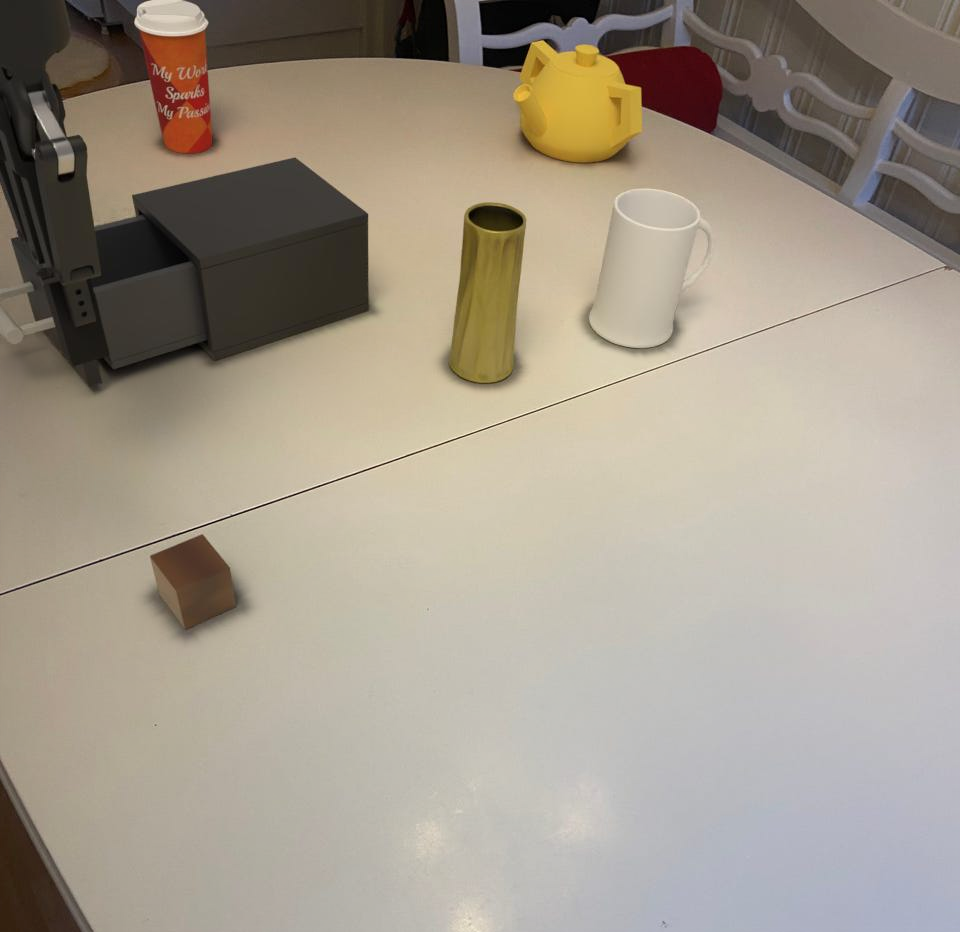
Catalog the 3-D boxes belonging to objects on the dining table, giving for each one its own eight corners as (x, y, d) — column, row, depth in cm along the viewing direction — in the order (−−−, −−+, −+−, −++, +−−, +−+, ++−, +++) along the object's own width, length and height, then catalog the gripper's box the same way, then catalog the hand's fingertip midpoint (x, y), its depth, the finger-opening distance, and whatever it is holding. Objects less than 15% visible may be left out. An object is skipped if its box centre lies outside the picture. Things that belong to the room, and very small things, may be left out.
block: (185, 630, 67) (176, 591, 64) (159, 594, 69) (149, 555, 66) (236, 606, 69) (230, 567, 66) (210, 572, 71) (202, 533, 67)
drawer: (34, 404, 80) (6, 319, 74) (-18, 336, 85) (-48, 252, 79) (252, 335, 89) (243, 254, 83) (193, 277, 94) (180, 197, 88)
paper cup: (162, 160, 111) (140, 23, 100) (148, 132, 115) (125, -2, 105) (229, 153, 114) (214, 19, 103) (213, 126, 118) (197, -5, 107)
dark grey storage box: (214, 361, 87) (199, 259, 80) (150, 295, 93) (131, 194, 86) (368, 310, 95) (368, 213, 87) (301, 252, 101) (295, 156, 93)
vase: (469, 339, 93) (482, 192, 82) (524, 361, 91) (545, 214, 80) (436, 368, 89) (445, 219, 78) (493, 392, 88) (510, 243, 77)
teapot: (457, 132, 123) (463, 36, 114) (556, 103, 132) (568, 11, 123) (568, 195, 114) (584, 95, 106) (666, 158, 123) (688, 64, 115)
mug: (680, 296, 101) (710, 182, 92) (715, 341, 96) (751, 226, 87) (576, 305, 99) (597, 188, 89) (607, 352, 93) (632, 234, 84)
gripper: (101, -12, 49) (178, 384, 66) (4, -80, 55) (98, 299, 73) (-52, 8, 45) (73, 420, 63) (-137, -66, 51) (-2, 328, 69)
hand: (86, 355), depth 68 cm, fingers closed
